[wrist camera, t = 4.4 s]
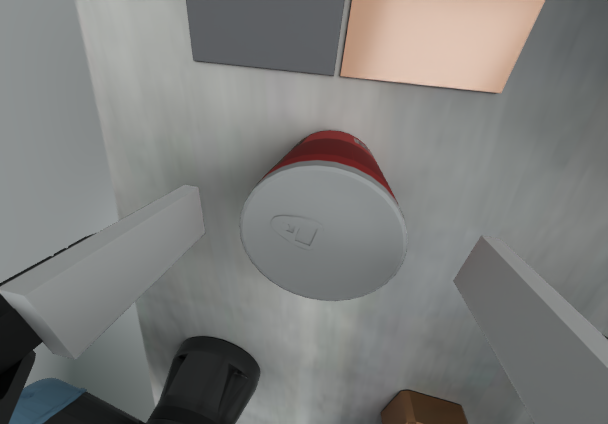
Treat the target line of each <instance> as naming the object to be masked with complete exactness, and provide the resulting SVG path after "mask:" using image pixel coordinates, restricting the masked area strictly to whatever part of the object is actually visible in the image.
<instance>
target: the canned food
mask: <svg viewBox="0 0 608 424" xmlns="http://www.w3.org/2000/svg"><path fill="white" fill-rule="evenodd" d="M240 234H241V240H242V243H243V246H244V249H245V251H246V253H247V255H248V256H249V258H250V260H251V261H252V263H253V264H254V265H255V266H256V268H257V269H258V270H259V271H260V272H261V273H262V274H263V275H264V276H266V277H267V278H268V279H269V280H270V281H272V282H273V283H275V284H276V285H278V286H279V287H281V288H283V289H285V290H287V291H289V292H292V293H294V294H297V295H300V296H303V297H306V298H311V299H317V300H325V301H340V300H350V299H354V298H358V297H362V296H364V295H367V294H369V293H372V292H374V291H376V290H377V289H379V288H380V287H382V286H383V285H385V284H386V283H387V282H388V281H389V280H390V279H391V278H392V277H393V276H395V275H396V273H397V271H398V270H399V268H400V267H401V265H402V264H403V261H404V258H405V255H406V252H407V239H408V236H407V231H406V226H405V222H404V217H403V214H402V212H401V210H400V208H399V206H398V203H397V201H396V199H395V197H394V195H393V193H392V191H391V189H390V187H389V185H388V183H387V181H386V179H385V178H384V176H383V174H382V172H381V170H380V168H379V166H378V164H377V162H376V161H375V159H374V157H373V155H372V153H371V151H370V150H369V149H368V148H367V146H366V145H365V144H364V143H362V142H361V141H360V140H359V139H358V138H356V137H354V136H352V135H350V134H347V133H344V132H341V131H331V130H329V131H320V132H317V133H314V134H311V135H309V136H308V137H306V138H304V139H303V140H302V141H300V142H299V143H298V144H297V145H296V146H295V147H294V148H293V149H292V150H291V151H290V152H289V153H288V154H287V155H286V156H285V157H284V158H283V159H282V160H280V161H279V162H278V163H277V164H276V165H275V166H274V167H273V168H272V169H271V170H270V171H269V172H268V173H267V174H266V175H265V176H264V177H263V179H262V180H261V181H260V182H259V183H258V184H257V185H256V186H255V188H254V189H253V190H252V192H251V193H250V195H249V197H248V198H247V200H246V201H245V204H244V207H243V209H242V212H241V217H240Z"/></svg>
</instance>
